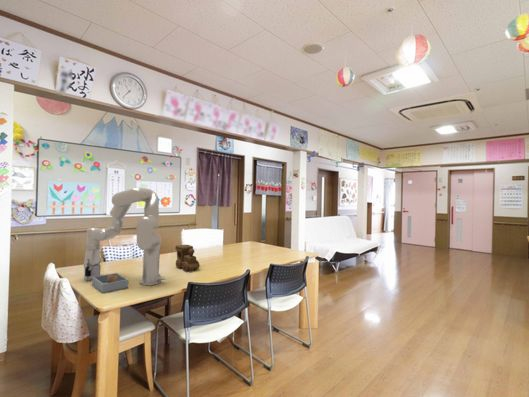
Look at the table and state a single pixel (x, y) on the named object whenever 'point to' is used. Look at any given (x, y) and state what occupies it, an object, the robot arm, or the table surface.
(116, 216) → the robot arm
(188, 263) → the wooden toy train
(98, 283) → the tote
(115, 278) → the walnut cylinder
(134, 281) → the table surface
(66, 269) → the table surface
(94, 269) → the medicine box
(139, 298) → the table surface
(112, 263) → the table surface
